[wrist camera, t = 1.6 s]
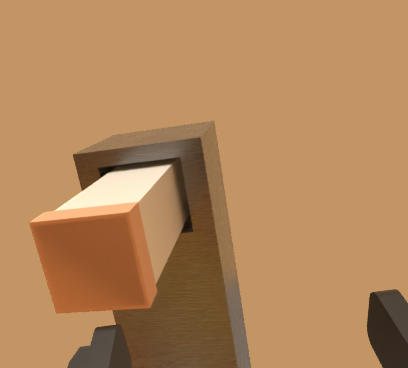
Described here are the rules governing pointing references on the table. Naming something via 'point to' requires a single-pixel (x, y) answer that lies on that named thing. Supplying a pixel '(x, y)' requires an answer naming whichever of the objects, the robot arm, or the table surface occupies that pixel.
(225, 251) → the grey tall rectangular block
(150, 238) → the block
